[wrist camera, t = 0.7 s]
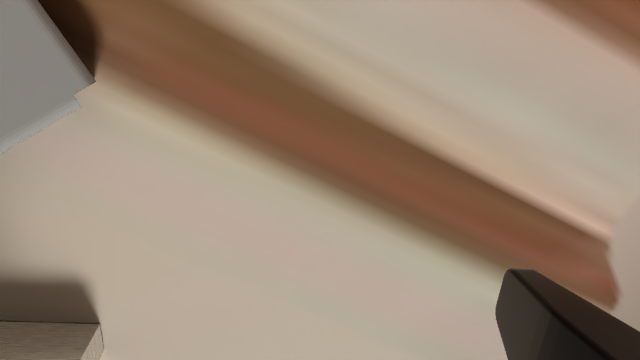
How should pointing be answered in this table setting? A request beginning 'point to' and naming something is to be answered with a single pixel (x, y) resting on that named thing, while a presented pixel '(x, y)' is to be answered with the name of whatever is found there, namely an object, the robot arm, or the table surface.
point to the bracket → (34, 72)
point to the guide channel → (50, 341)
